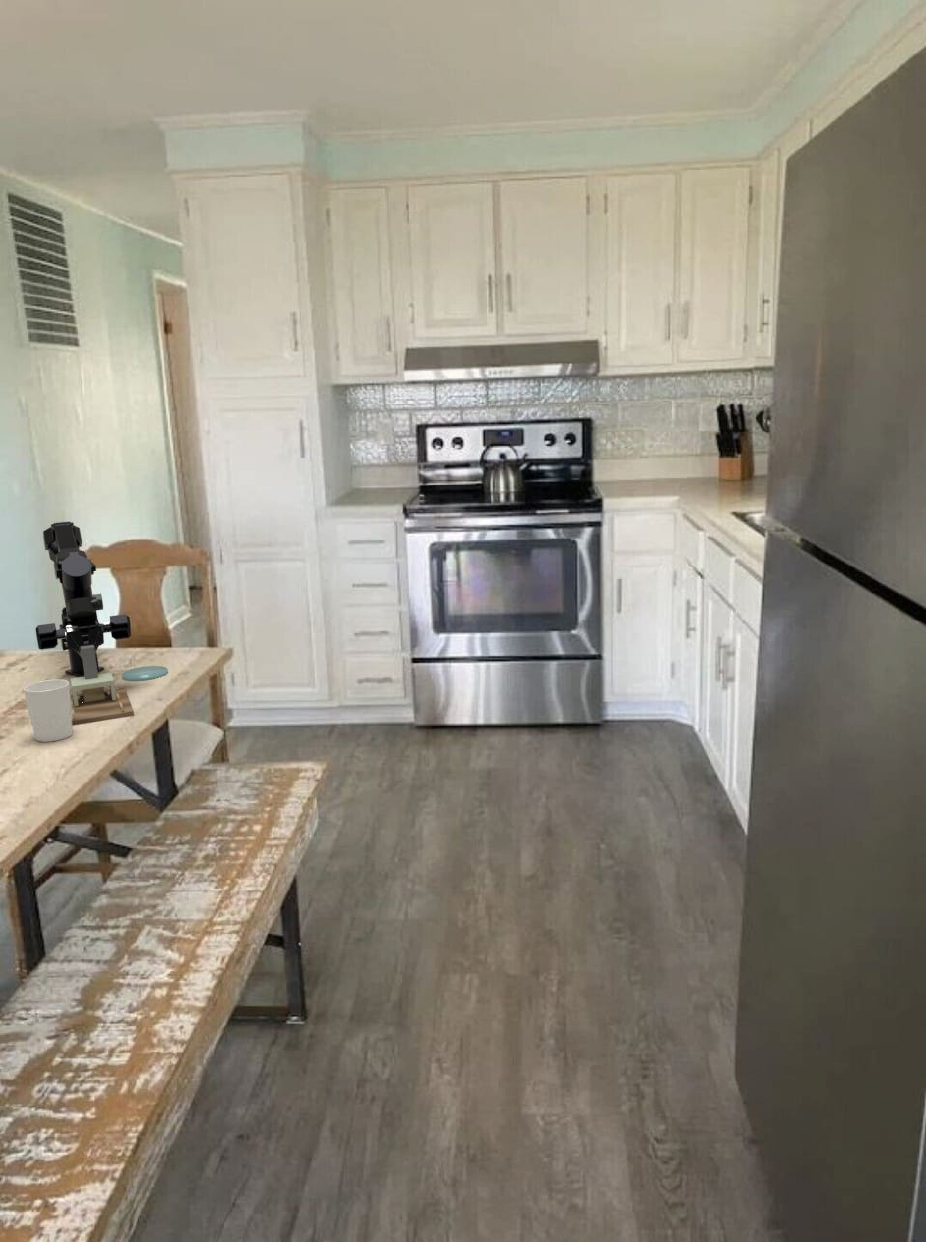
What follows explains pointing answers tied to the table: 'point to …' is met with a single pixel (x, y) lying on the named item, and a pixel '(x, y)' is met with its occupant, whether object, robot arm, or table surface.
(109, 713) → the puzzle board
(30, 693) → the white cup
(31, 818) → the table surface
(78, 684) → the sliding cover
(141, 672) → the teal saucer
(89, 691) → the block
